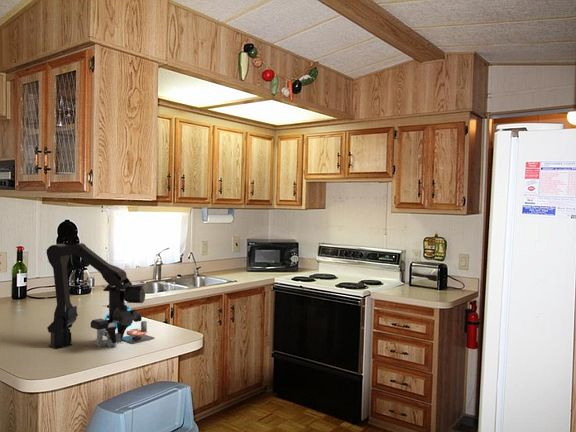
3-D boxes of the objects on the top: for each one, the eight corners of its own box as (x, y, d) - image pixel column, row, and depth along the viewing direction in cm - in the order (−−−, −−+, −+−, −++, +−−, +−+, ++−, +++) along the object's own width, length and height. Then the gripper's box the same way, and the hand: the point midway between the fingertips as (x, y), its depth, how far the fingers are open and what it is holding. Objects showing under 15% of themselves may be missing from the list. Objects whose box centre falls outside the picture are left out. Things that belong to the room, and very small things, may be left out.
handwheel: (123, 337, 196) (123, 323, 196) (131, 332, 204) (131, 318, 204) (142, 338, 195) (142, 324, 195) (150, 333, 203) (150, 319, 203)
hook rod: (115, 343, 187) (115, 334, 186) (97, 336, 195) (97, 328, 195) (120, 341, 188) (120, 333, 188) (102, 335, 196) (102, 327, 196)
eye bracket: (104, 348, 187) (104, 333, 187) (94, 344, 192) (94, 329, 192) (121, 344, 192) (121, 329, 192) (110, 340, 197) (110, 326, 197)
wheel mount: (133, 344, 193) (133, 341, 192) (119, 339, 199) (119, 336, 199) (154, 338, 200) (154, 335, 200) (140, 334, 207) (140, 331, 207)
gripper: (105, 309, 175) (105, 352, 176) (149, 301, 190) (149, 341, 190) (89, 305, 182) (89, 346, 183) (133, 297, 197) (133, 336, 197)
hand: (116, 342), depth 188 cm, fingers closed on hook rod, 2 cm apart
